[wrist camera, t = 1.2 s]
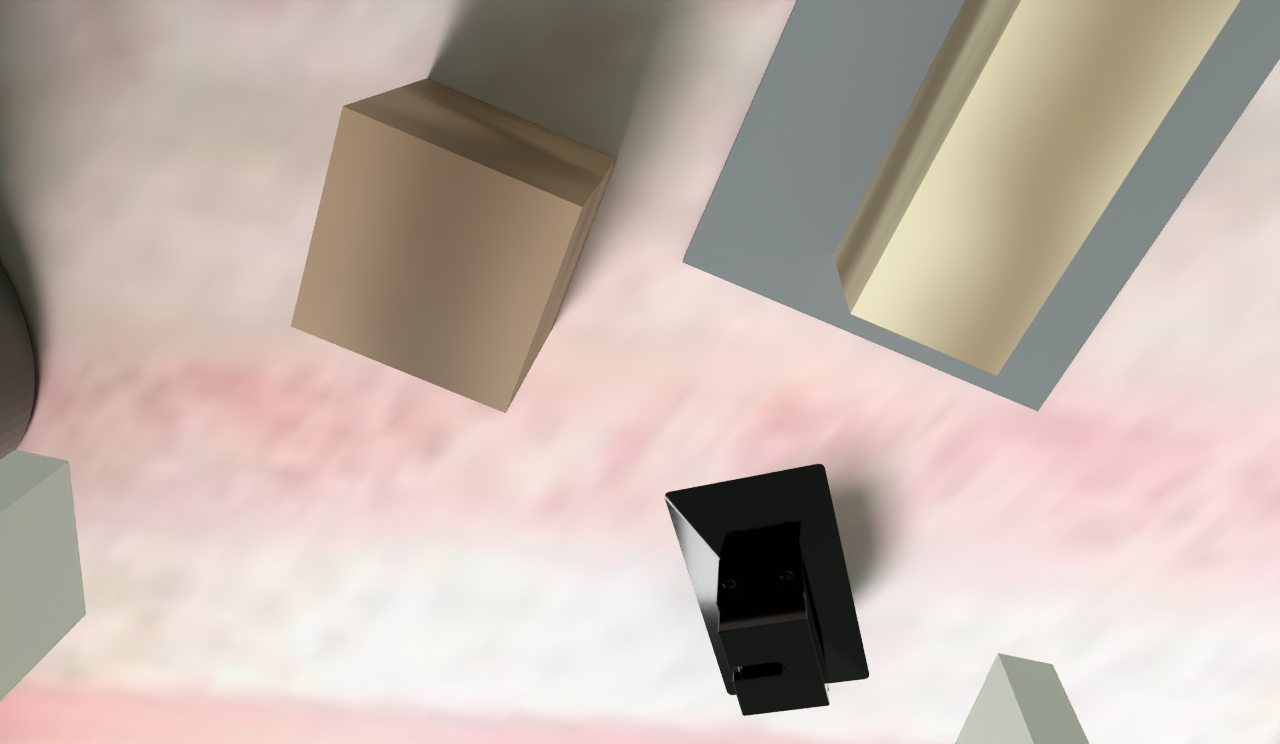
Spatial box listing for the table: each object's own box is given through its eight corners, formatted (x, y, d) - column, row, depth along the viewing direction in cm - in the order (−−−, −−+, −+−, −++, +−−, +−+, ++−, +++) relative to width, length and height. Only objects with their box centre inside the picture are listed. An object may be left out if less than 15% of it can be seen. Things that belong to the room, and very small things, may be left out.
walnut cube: (378, 258, 29) (290, 326, 23) (428, 78, 26) (342, 106, 21) (551, 329, 29) (505, 413, 23) (617, 158, 26) (582, 207, 21)
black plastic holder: (634, 452, 31) (615, 526, 27) (843, 411, 30) (858, 484, 25) (717, 718, 36) (713, 818, 31) (903, 695, 34) (924, 797, 30)
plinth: (832, 254, 26) (850, 313, 22) (1063, -190, 21) (1147, -233, 17) (955, 306, 26) (996, 375, 22) (1211, -120, 21) (1335, -145, 17)
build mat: (683, 258, 27) (682, 262, 27) (951, -353, 20) (955, -359, 20) (1034, 405, 28) (1037, 411, 28) (1404, -140, 21) (1416, -141, 21)
